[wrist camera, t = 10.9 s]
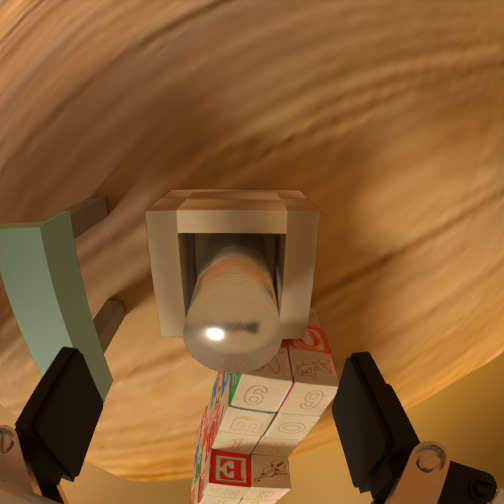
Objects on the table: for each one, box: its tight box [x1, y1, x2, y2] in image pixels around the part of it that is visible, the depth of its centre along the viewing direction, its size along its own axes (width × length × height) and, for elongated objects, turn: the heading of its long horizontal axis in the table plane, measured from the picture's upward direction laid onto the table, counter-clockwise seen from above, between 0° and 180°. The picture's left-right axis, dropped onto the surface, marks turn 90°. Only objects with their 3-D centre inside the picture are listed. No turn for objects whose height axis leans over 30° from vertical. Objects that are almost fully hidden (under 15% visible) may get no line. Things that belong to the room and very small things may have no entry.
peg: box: [183, 233, 282, 373], centre depth 16 cm, size 4×4×10 cm
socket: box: [145, 189, 320, 339], centre depth 19 cm, size 9×8×6 cm
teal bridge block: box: [0, 196, 125, 403], centre depth 17 cm, size 4×12×10 cm, turn 179°
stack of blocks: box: [190, 307, 339, 504], centre depth 22 cm, size 21×6×12 cm, turn 164°
